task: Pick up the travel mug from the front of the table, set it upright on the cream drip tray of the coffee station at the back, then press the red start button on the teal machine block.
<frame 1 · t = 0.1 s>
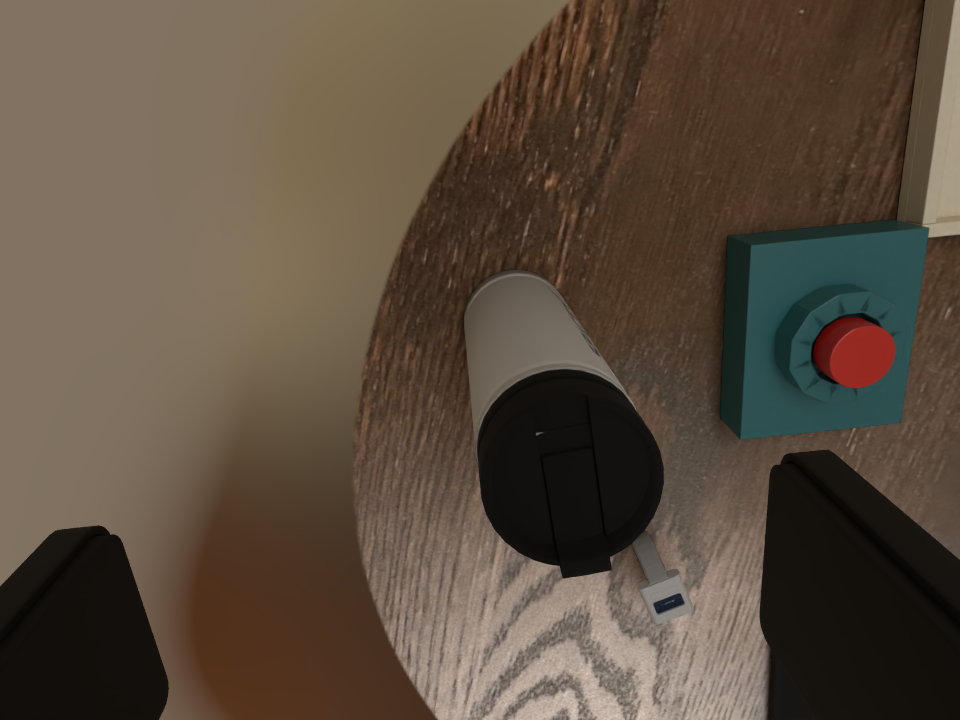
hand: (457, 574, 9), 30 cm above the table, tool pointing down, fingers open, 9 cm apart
cell phone: (825, 640, 50), on the table
machine block: (802, 323, 41), on the table
wristwatch: (644, 550, 46), on the table
start button: (853, 352, 36), point 5 cm above the table, slide at 0.1 cm
travel mug: (514, 320, 40), on the table
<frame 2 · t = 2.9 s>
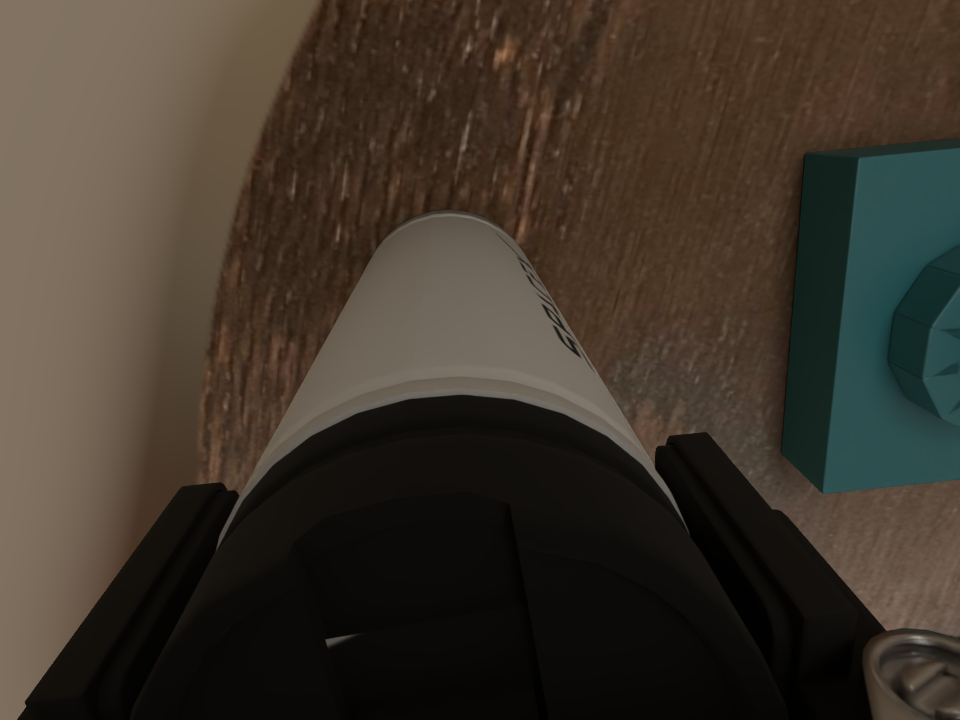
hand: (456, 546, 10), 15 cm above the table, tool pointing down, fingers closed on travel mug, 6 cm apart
machine block: (919, 302, 25), on the table
travel mug: (450, 297, 24), on the table, touching gripper
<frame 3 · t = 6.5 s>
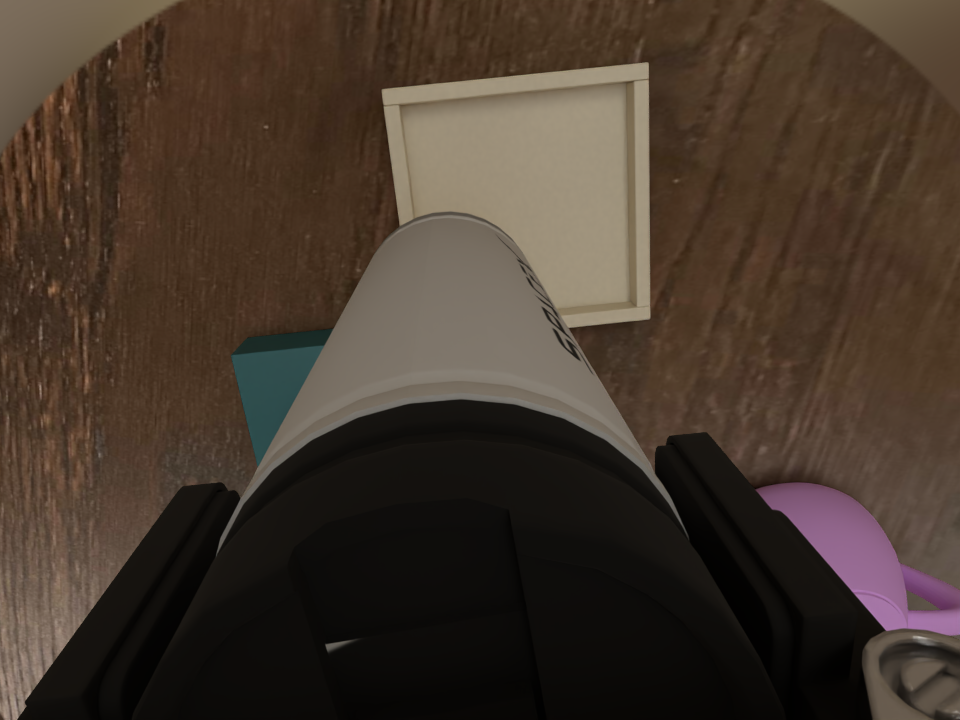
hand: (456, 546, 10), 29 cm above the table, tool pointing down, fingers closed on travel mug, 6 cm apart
machine block: (346, 418, 41), on the table
teapot: (755, 554, 46), on the table
drip tray: (520, 207, 37), on the table
travel mug: (450, 299, 24), point 14 cm above the table, touching gripper
when the fingers open (16 cm above the table, at t = 10.4 s): travel mug stays where it is, resting on drip tray.
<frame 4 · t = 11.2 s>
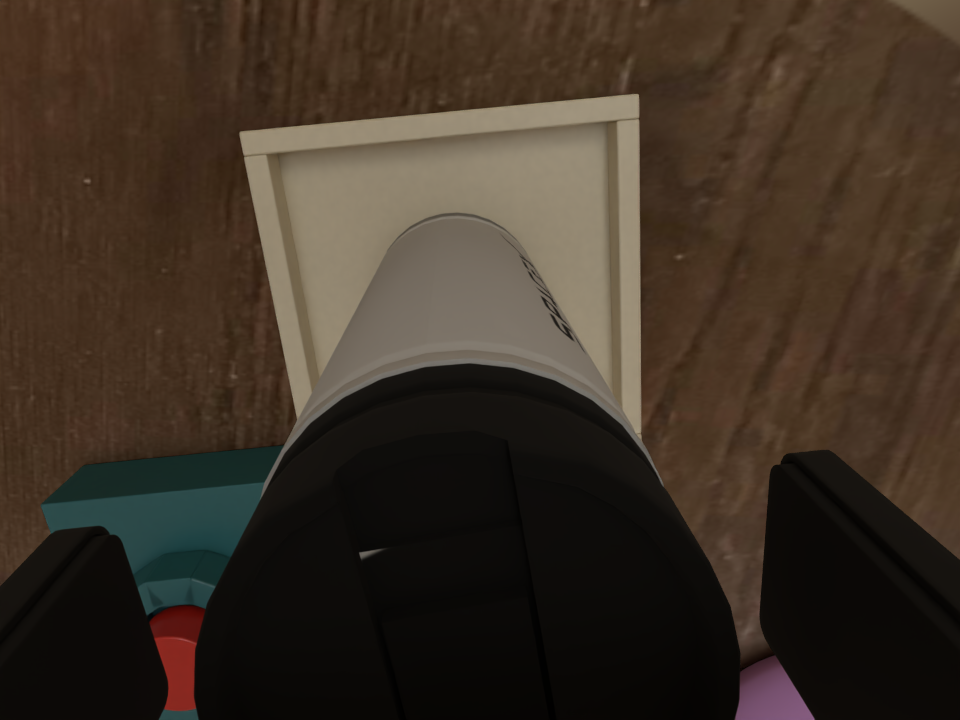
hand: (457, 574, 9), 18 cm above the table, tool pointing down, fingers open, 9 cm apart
machine block: (228, 567, 30), on the table
start button: (182, 657, 25), point 5 cm above the table, slide at 0.1 cm
drip tray: (458, 292, 26), on the table
travel mug: (457, 295, 26), point 1 cm above the table, touching drip tray
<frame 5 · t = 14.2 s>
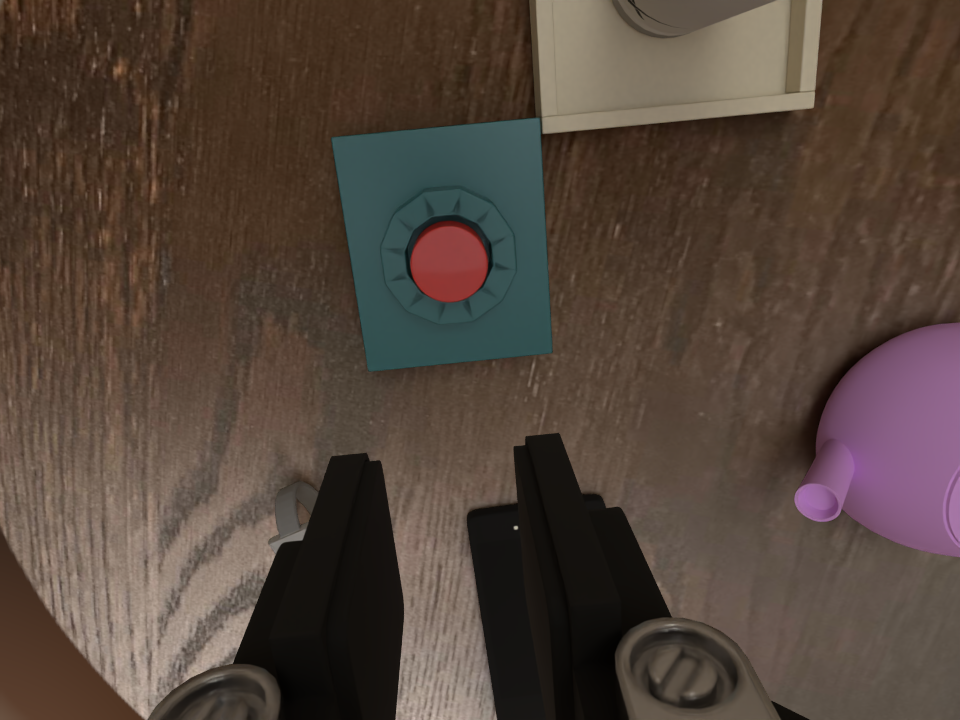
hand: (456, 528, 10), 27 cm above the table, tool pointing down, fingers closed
cell phone: (545, 610, 45), on the table
machine block: (448, 241, 36), on the table
teapot: (893, 418, 41), on the table
wristwatch: (319, 506, 42), on the table
start button: (449, 261, 31), point 5 cm above the table, slide at 0.1 cm
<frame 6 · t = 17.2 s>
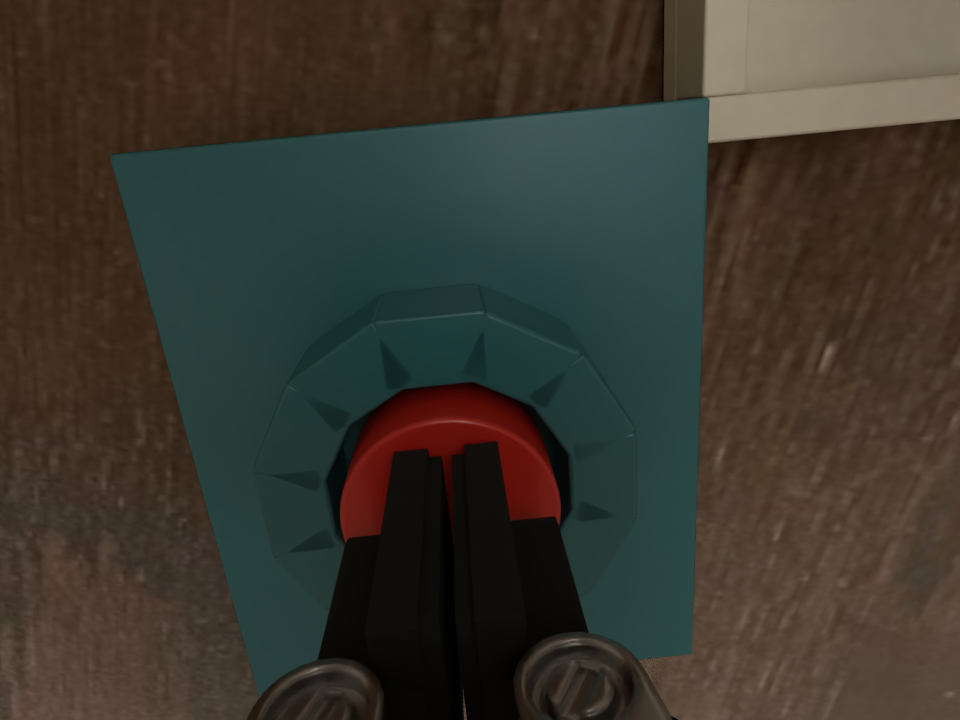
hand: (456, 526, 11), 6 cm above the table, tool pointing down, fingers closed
machine block: (448, 385, 16), on the table
start button: (450, 490, 11), point 5 cm above the table, slide at -0.6 cm, touching gripper
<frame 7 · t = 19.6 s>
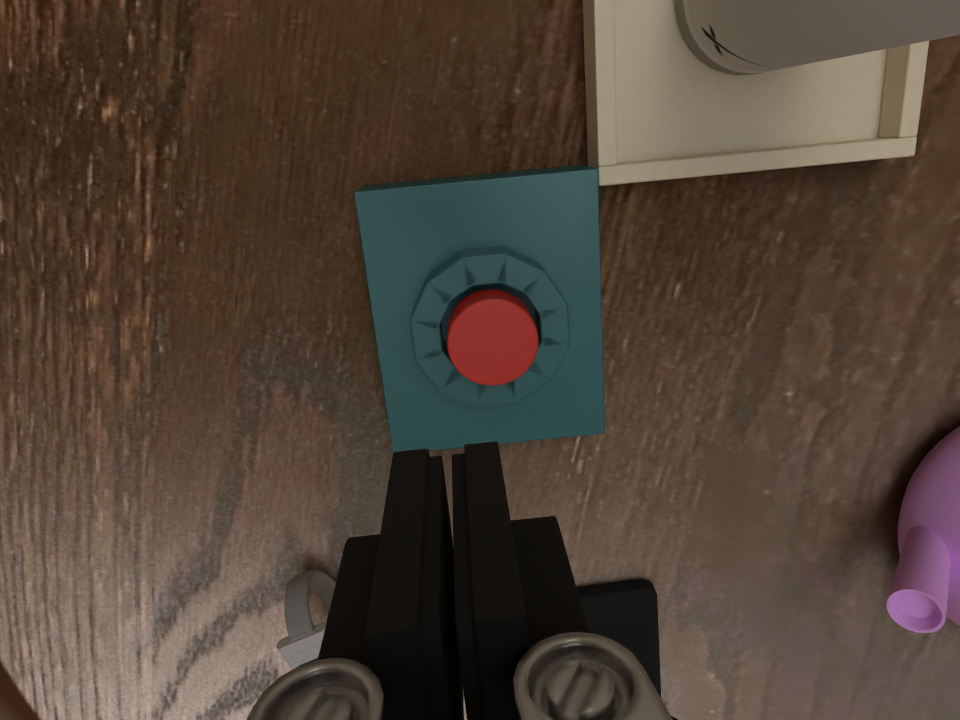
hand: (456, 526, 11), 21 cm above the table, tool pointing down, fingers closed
cell phone: (585, 703, 40), on the table
machine block: (484, 303, 31), on the table
wristwatch: (333, 592, 37), on the table
start button: (491, 337, 26), point 5 cm above the table, slide at 0.1 cm
drip tray: (742, 2, 28), on the table
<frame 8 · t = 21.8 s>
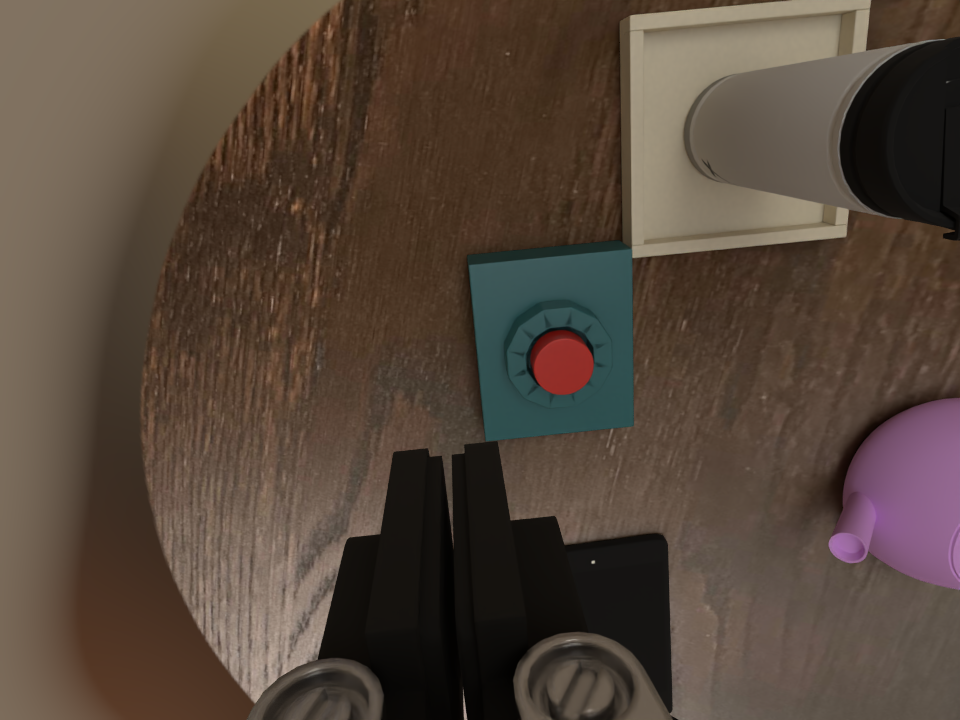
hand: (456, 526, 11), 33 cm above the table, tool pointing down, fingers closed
cell phone: (612, 628, 54), on the table
machine block: (548, 334, 44), on the table
teapot: (906, 471, 50), on the table
start button: (561, 362, 39), point 5 cm above the table, slide at 0.1 cm
drip tray: (729, 132, 40), on the table
travel mug: (732, 132, 40), point 1 cm above the table, touching drip tray
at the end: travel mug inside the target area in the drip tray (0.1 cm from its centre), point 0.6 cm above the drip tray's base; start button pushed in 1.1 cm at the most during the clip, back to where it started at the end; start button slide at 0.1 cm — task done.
